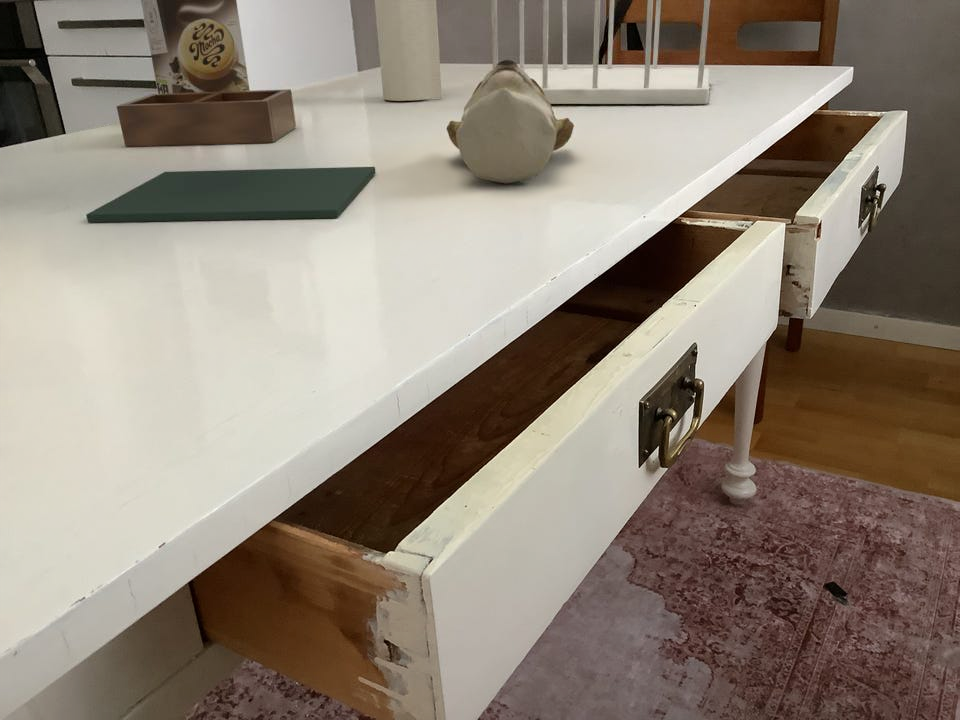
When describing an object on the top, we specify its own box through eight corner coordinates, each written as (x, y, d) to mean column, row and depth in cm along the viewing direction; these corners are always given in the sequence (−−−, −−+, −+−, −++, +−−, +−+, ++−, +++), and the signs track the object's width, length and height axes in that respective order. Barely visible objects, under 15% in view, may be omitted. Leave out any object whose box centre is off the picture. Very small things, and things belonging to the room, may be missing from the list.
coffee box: (182, 124, 96) (152, -32, 89) (161, 118, 101) (131, -31, 94) (255, 112, 101) (232, -36, 94) (232, 107, 106) (209, -34, 99)
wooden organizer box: (125, 146, 85) (115, 106, 83) (159, 131, 92) (151, 93, 91) (273, 142, 84) (266, 101, 82) (296, 127, 91) (291, 89, 89)
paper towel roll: (377, 98, 108) (359, -91, 99) (421, 93, 110) (407, -92, 101) (396, 105, 102) (379, -96, 93) (442, 100, 104) (430, -97, 95)
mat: (87, 222, 59) (85, 214, 59) (165, 178, 71) (164, 171, 71) (337, 218, 58) (336, 209, 57) (375, 173, 69) (375, 166, 69)
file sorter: (485, 106, 98) (479, -43, 91) (515, 85, 113) (512, -44, 107) (708, 105, 92) (719, -54, 86) (708, 83, 107) (718, -54, 101)
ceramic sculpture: (426, 67, 59) (448, 57, 73) (432, 191, 62) (452, 159, 76) (580, 62, 58) (572, 53, 72) (578, 189, 61) (571, 157, 75)
